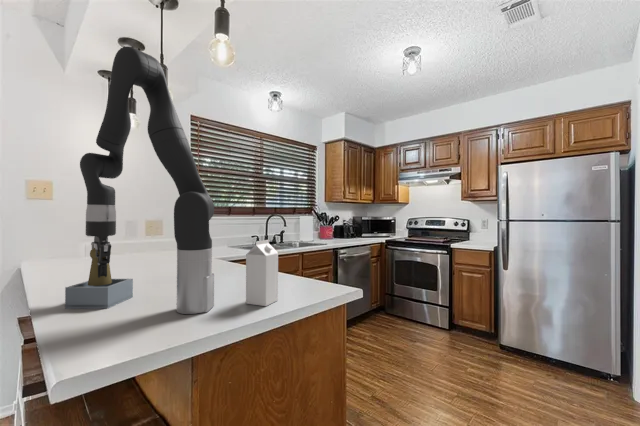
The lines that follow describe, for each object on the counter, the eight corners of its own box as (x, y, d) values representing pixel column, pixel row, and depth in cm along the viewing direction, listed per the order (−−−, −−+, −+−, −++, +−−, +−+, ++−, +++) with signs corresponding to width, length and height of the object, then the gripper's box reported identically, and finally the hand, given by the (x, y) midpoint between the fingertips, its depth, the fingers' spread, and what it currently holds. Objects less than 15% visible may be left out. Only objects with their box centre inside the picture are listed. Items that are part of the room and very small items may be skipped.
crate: (132, 297, 100) (132, 278, 100) (107, 308, 88) (107, 287, 88) (95, 297, 99) (95, 278, 99) (65, 308, 87) (65, 287, 87)
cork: (99, 286, 90) (100, 248, 90) (82, 285, 91) (82, 248, 91) (116, 282, 96) (117, 246, 96) (100, 281, 97) (101, 246, 97)
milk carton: (245, 304, 92) (245, 241, 93) (258, 298, 99) (259, 239, 99) (265, 306, 90) (266, 242, 90) (278, 300, 96) (278, 240, 96)
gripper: (121, 220, 91) (121, 278, 91) (109, 219, 101) (109, 271, 101) (90, 220, 86) (90, 282, 86) (81, 219, 96) (80, 274, 96)
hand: (100, 276), depth 93 cm, fingers closed on cork, 4 cm apart
